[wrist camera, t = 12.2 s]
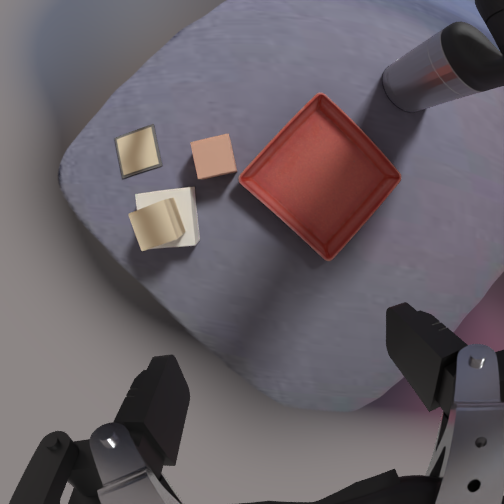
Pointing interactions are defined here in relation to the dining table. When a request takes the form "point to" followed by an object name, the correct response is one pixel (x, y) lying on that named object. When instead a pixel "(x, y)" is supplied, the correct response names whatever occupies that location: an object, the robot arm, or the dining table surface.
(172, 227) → the maple cube
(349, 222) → the plant saucer
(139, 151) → the tile
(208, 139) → the terracotta cube
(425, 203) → the dining table surface
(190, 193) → the base slab
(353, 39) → the dining table surface
